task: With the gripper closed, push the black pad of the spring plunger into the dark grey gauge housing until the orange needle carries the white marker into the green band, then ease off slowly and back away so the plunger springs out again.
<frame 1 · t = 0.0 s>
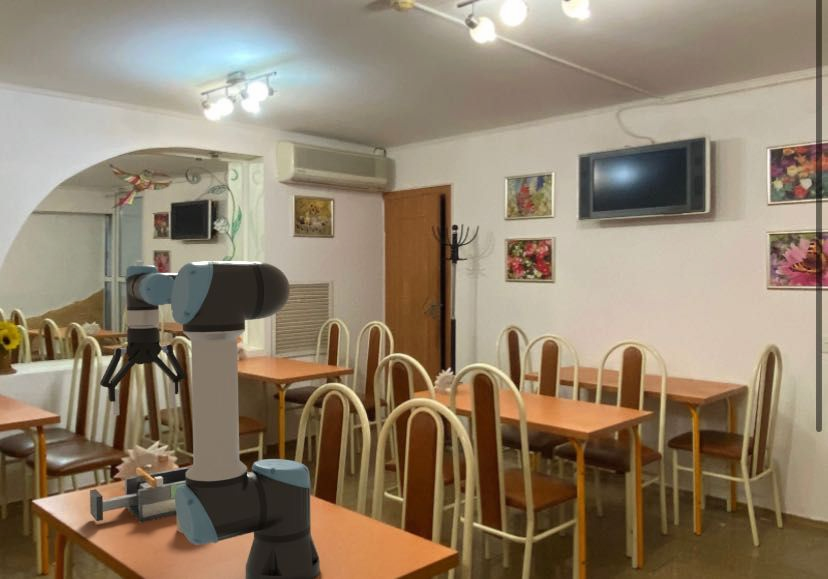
hand: (144, 410, 173), 28 cm above the table, tool pointing down, fingers open, 13 cm apart
marker: (158, 481, 176), point 9 cm above the table, slide at 0.0 cm
gauge housing: (167, 507, 184), on the table
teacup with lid: (200, 527, 170), on the table
plunger: (127, 493, 177), point 6 cm above the table, slide at 0.0 cm
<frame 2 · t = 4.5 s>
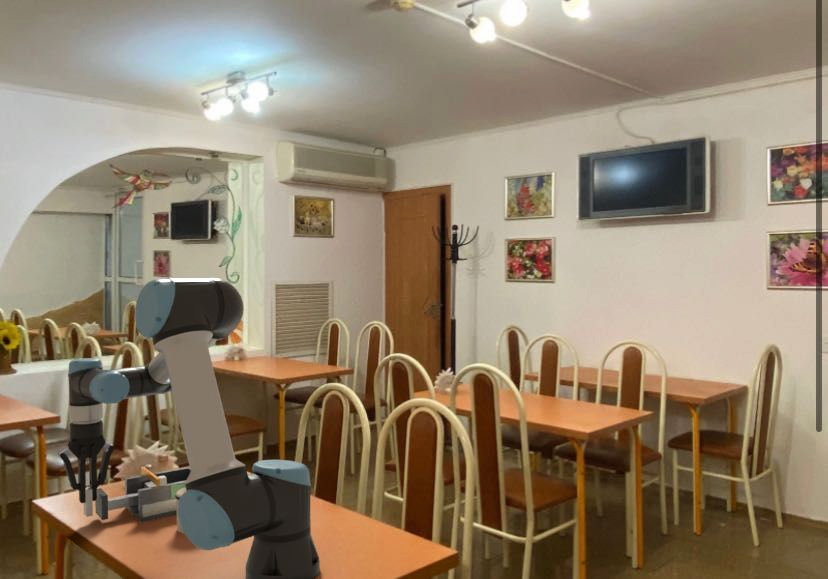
hand: (88, 514, 172), 3 cm above the table, tool pointing down, fingers closed
marker: (162, 480, 177), point 9 cm above the table, slide at 0.9 cm, touching plunger
plunger: (132, 492, 178), point 6 cm above the table, slide at 1.2 cm, touching gripper, marker
everything else where it was.
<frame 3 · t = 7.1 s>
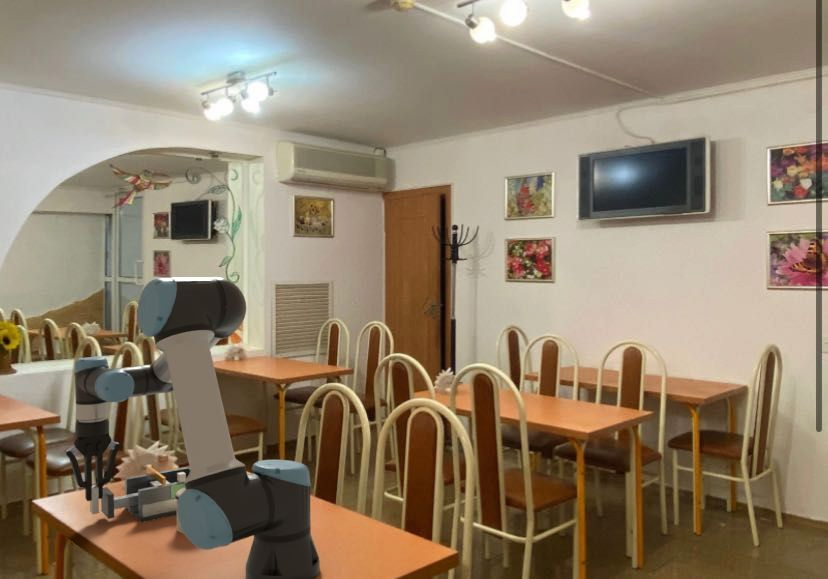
hand: (94, 512, 173), 3 cm above the table, tool pointing down, fingers closed
marker: (181, 477, 180), point 9 cm above the table, slide at 5.8 cm
plunger: (138, 491, 179), point 6 cm above the table, slide at 2.6 cm
everything else where it was.
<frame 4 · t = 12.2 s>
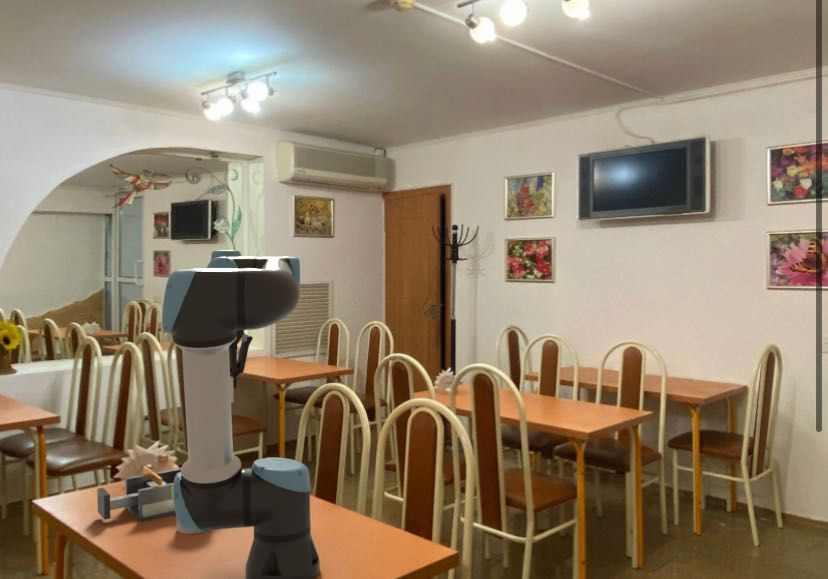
hand: (228, 401, 177), 29 cm above the table, tool pointing down, fingers closed
plunger: (134, 492, 178), point 6 cm above the table, slide at 1.8 cm
everything else where it was.
at the end: marker slide at 5.8 cm; plunger slide at 1.8 cm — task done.
